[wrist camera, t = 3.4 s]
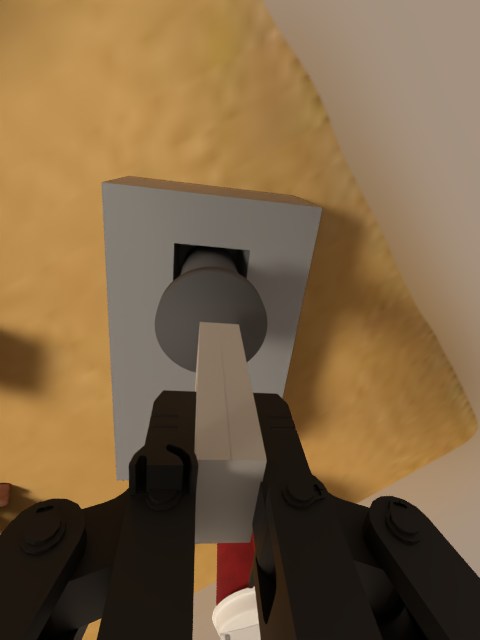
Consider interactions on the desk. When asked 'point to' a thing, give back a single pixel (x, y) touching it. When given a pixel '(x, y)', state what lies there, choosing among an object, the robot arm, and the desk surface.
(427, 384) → the desk surface
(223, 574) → the paper cup
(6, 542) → the robot arm
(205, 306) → the dark gray plug
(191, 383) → the block
